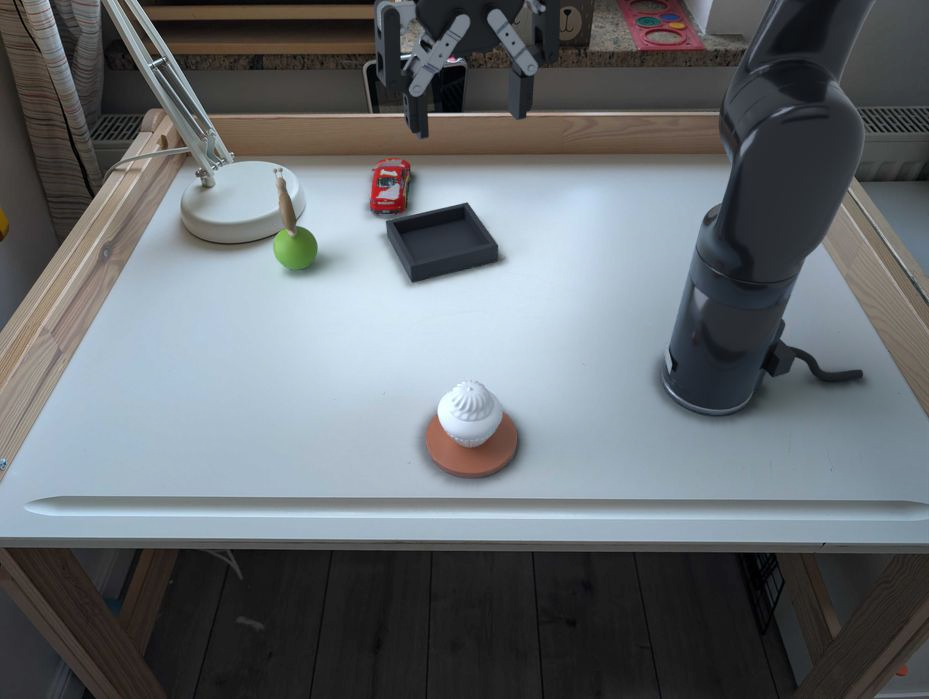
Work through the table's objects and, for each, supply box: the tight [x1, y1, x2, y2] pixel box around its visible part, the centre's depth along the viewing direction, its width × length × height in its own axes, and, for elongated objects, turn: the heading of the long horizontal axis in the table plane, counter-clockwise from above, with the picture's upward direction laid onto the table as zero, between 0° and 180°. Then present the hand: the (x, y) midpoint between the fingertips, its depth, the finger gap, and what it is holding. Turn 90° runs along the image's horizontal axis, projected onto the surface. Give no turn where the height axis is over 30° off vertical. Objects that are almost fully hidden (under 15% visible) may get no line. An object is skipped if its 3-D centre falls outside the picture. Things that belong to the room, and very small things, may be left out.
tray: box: [385, 202, 499, 283], centre depth 93 cm, size 12×11×2 cm
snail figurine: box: [272, 167, 319, 271], centre depth 88 cm, size 5×6×12 cm
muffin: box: [437, 379, 504, 448], centre depth 68 cm, size 6×6×7 cm
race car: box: [369, 157, 412, 216], centre depth 102 cm, size 13×5×4 cm, turn 178°
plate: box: [425, 410, 518, 479], centre depth 71 cm, size 9×9×1 cm
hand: (469, 125), depth 59 cm, fingers open, 8 cm apart
